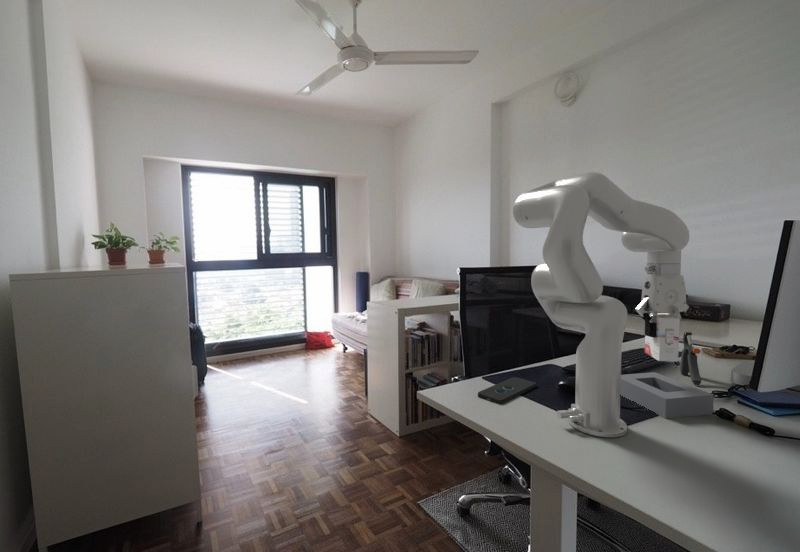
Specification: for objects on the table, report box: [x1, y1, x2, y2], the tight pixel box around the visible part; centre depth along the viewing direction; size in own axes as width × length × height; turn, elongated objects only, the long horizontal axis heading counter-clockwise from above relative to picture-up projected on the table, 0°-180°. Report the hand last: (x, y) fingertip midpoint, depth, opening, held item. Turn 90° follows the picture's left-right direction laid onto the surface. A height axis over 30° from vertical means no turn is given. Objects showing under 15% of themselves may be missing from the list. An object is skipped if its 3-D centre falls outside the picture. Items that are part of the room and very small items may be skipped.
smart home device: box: [477, 376, 537, 405], centre depth 112 cm, size 8×2×20 cm
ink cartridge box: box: [644, 306, 681, 363], centre depth 102 cm, size 9×5×15 cm, turn 170°
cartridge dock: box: [620, 372, 715, 419], centre depth 103 cm, size 14×18×5 cm
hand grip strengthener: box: [679, 331, 702, 386], centre depth 119 cm, size 2×12×15 cm, turn 159°
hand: (661, 335), depth 102 cm, fingers closed on ink cartridge box, 6 cm apart
